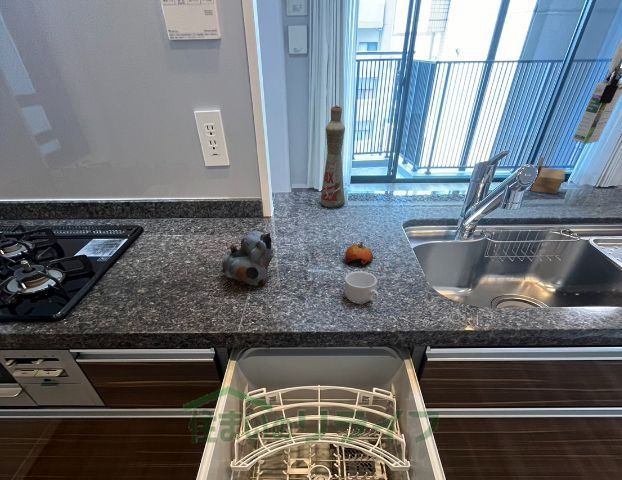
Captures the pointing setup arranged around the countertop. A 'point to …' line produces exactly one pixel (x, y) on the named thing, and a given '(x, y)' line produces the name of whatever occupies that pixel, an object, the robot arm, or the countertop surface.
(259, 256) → the lucky cat figurine
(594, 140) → the syrup box
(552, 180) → the small cardboard box
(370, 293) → the teacup
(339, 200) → the bottle
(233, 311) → the countertop surface
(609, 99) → the robot arm
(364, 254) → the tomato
